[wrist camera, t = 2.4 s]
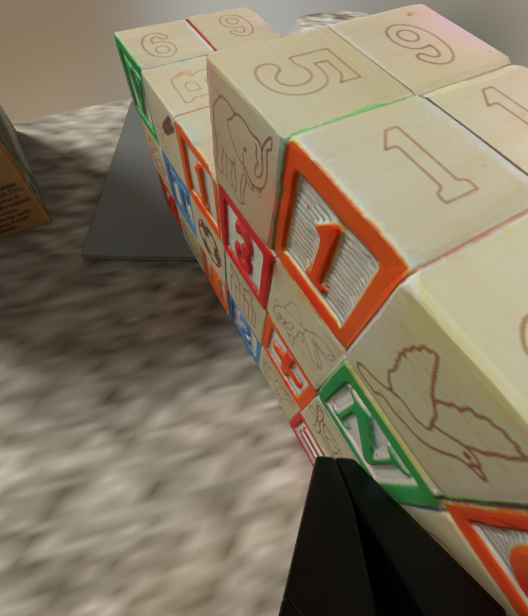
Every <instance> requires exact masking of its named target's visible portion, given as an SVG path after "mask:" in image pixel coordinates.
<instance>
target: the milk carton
mask: <svg viewBox="0 0 528 616" xmlns="http://www.w3.org/2000/svg"><path fill="white" fill-rule="evenodd" d="M50 221H51V219H50V216H49V214H48V211H47V208H46V206H45V203H44V201H43V198H42V196H41V193H40V190H39V188H38V185H37V183H36V180H35V178H34V175H33V172H32V170H31V167H30V165H29V162H28V160H27V157H26V154H25V152H24V149H23V147H22V144H21V141H20V139H19V136H18V134H17V131H16V129H15V128H14V126H13V125H12V123H11V122H10V120H9V118H8V117H7V115H6V114H5V112H4V110H3V109H2V107H1V106H0V238H1V237H4V236H8V235H11V234H14V233H17V232H20V231H23V230H26V229H29V228H32V227H35V226H38V225H41V224H44V223H47V222H50Z"/></svg>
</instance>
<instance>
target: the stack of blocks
mask: <svg viewBox="0 0 528 616" xmlns="http://www.w3.org/2000/svg"><path fill="white" fill-rule="evenodd" d="M114 37H115V41H116V45H117V48H118V52H119V55H120V59H121V62H122V65H123V69H124V72H125V75H126V79H127V83H128V86H129V89H130V92H131V96H132V99H133V102H134V105H135V108H136V110H137V112H138V114H139V115H140V117H141V121H142V124H143V128H144V131H145V135H146V139H147V142H148V146H149V149H150V152H151V156H152V159H153V162H154V165H155V167H156V169H157V173H158V176H159V180H160V184H161V188H162V191H163V194H164V197H165V200H166V204H167V206H168V208H169V210H170V211H171V213H172V215H173V216H174V218H175V220H176V221H177V223H178V225H179V226H180V228H181V230H182V231H183V233H184V237H185V240H186V241H187V243H188V245H189V247H190V249H191V250H192V252H193V254H194V256H195V257H196V259H197V261H198V263H199V264H200V266H201V268H202V270H203V271H204V273H205V274H206V277H207V279H208V281H209V283H210V284H211V286H212V288H213V290H214V291H215V293H216V295H217V297H218V298H219V300H220V302H221V304H222V306H223V307H224V309H225V311H226V313H227V314H228V316H230V317H231V318H232V320H233V322H234V324H235V326H236V328H237V329H238V331H239V333H240V335H241V336H242V338H243V340H244V342H245V343H246V345H247V347H248V349H249V351H250V352H251V354H252V356H253V358H254V360H255V361H256V363H257V364H258V365H259V367H260V369H261V371H262V373H263V374H264V376H265V378H266V380H267V382H268V383H269V385H270V387H271V389H272V390H273V392H274V394H275V396H276V397H277V399H278V401H279V403H280V404H281V406H282V408H283V410H284V411H285V413H286V415H287V417H288V418H289V420H290V425H291V427H292V429H293V431H294V433H295V434H296V436H297V438H298V440H299V442H300V444H301V445H302V447H303V449H304V451H305V452H306V454H307V456H308V458H309V460H310V461H311V463H312V465H313V467H314V463H315V459H316V457H317V456H327V457H333V458H334V459H336V458H337V457H340V458H352V459H354V460H355V461H357V462H358V463H359V464H360V465H361V466H362V467H363V468H364V469H365V470H366V471H367V472H368V473H369V474H370V475H371V476H372V477H373V478H374V479H375V480H376V481H377V482H378V483H379V484H380V485H381V486H382V487H383V488H384V489H385V490H386V491H387V492H388V493H389V494H390V495H391V496H392V497H393V498H394V499H395V500H396V501H397V502H398V503H399V504H400V505H401V506H402V507H403V508H404V509H405V510H406V511H407V512H408V513H409V514H410V515H411V516H412V517H413V518H414V519H415V520H416V521H417V522H418V523H419V524H420V525H421V526H422V527H423V528H424V529H425V530H426V531H427V532H428V533H429V534H430V535H431V536H432V537H433V538H434V539H435V540H436V541H437V542H438V543H439V544H440V545H441V546H442V547H443V548H444V549H445V550H446V551H447V552H448V553H449V554H450V555H451V556H452V557H453V558H454V559H455V560H456V561H457V562H458V563H459V564H460V565H461V566H462V567H463V568H464V569H465V570H466V571H467V572H468V573H469V574H470V575H471V576H472V577H473V578H474V579H475V580H476V581H477V582H478V583H479V584H480V585H481V586H482V587H483V588H484V589H485V590H486V591H487V592H488V593H489V594H490V595H491V596H492V597H493V598H494V599H495V600H496V601H497V602H498V603H499V604H500V605H501V606H502V607H503V608H504V609H505V610H506V613H507V615H511V616H528V68H526V67H523V66H517V65H511V62H510V60H509V57H507V56H506V55H504V54H502V53H501V52H499V51H498V50H496V49H495V48H493V47H491V46H489V45H488V44H487V43H485V42H483V41H482V40H480V39H478V38H477V37H475V36H473V35H472V34H470V33H469V32H467V31H465V30H464V29H462V28H460V27H459V26H457V25H456V24H454V23H452V22H451V21H449V20H447V19H446V18H444V17H442V16H441V15H439V14H438V13H436V12H434V11H433V10H431V9H430V8H428V7H427V6H425V5H422V4H416V5H410V6H406V7H402V8H398V9H394V10H390V11H386V12H382V13H378V14H374V15H370V16H365V17H361V18H357V19H353V20H348V21H344V22H340V23H335V24H331V25H328V26H327V27H325V28H320V29H315V30H311V31H307V32H303V33H300V34H296V35H292V36H287V37H282V36H281V35H280V34H279V33H278V32H276V30H274V29H273V28H272V27H271V26H270V25H269V24H268V23H267V22H266V21H265V20H264V19H263V18H261V17H260V16H259V15H257V14H256V13H255V12H254V11H253V10H252V9H251V8H250V7H244V8H237V9H232V10H227V11H221V12H215V13H209V14H203V15H197V16H192V17H188V18H187V19H186V20H179V21H174V22H168V23H163V24H157V25H152V26H147V27H141V28H135V29H131V30H125V31H120V32H115V33H114Z"/></svg>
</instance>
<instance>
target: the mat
mask: <svg viewBox="0 0 528 616" xmlns="http://www.w3.org/2000/svg"><path fill="white" fill-rule="evenodd" d="M82 256H83V257H84V259H102V260H177V261H197V259H196V257H195V256H194V254H193V252H192V250H191V249H190V247H189V245H188V243H187V241H186V240H185V237H184V233H183V231H182V230H181V228H180V226H179V225H178V223H177V221H176V220H175V218H174V216H173V215H172V213H171V211H170V210H169V208H168V206H167V204H166V200H165V197H164V194H163V191H162V188H161V184H160V180H159V176H158V173H157V169H156V167H155V165H154V162H153V159H152V156H151V152H150V149H149V146H148V142H147V139H146V135H145V131H144V128H143V124H142V121H141V117H140V115H139V114H138V112H137V110H136V108H135V105H134V102H133V101H131V104H130V107H129V110H128V113H127V116H126V119H125V122H124V126H123V129H122V132H121V135H120V138H119V141H118V144H117V147H116V150H115V153H114V157H113V160H112V163H111V166H110V169H109V172H108V175H107V178H106V181H105V185H104V188H103V191H102V194H101V197H100V200H99V203H98V206H97V209H96V212H95V216H94V219H93V222H92V225H91V228H90V231H89V234H88V237H87V240H86V244H85V247H84V250H83V253H82Z"/></svg>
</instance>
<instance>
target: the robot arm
mask: <svg viewBox="0 0 528 616" xmlns="http://www.w3.org/2000/svg"><path fill="white" fill-rule="evenodd" d="M278 616H511V615H507V613H506V610H505V609H504V608H503V607H502V606H501V605H500V604H499V603H498V602H497V601H496V600H495V599H494V598H493V597H492V596H491V595H490V594H489V593H488V592H487V591H486V590H485V589H484V588H483V587H482V586H481V585H480V584H479V583H478V582H477V581H476V580H475V579H474V578H473V577H472V576H471V575H470V574H469V573H468V572H467V571H466V570H465V569H464V568H463V567H462V566H461V565H460V564H459V563H458V562H457V561H456V560H455V559H454V558H453V557H452V556H451V555H450V554H449V553H448V552H447V551H446V550H445V549H444V548H443V547H442V546H441V545H440V544H439V543H438V542H437V541H436V540H435V539H434V538H433V537H432V536H431V535H430V534H429V533H428V532H427V531H426V530H425V529H424V528H423V527H422V526H421V525H420V524H419V523H418V522H417V521H416V520H415V519H414V518H413V517H412V516H411V515H410V514H409V513H408V512H407V511H406V510H405V509H404V508H403V507H402V506H401V505H400V504H399V503H398V502H397V501H396V500H395V499H394V498H393V497H392V496H391V495H390V494H389V493H388V492H387V491H386V490H385V489H384V488H383V487H382V486H381V485H380V484H379V483H378V482H377V481H376V480H375V479H374V478H373V477H372V476H371V475H370V474H369V473H368V472H367V471H366V470H365V469H364V468H363V467H362V466H361V465H360V464H359V463H358V462H357V461H355V460H354V459H352V458H340V457H337V458H336V459H334V458H333V457H327V456H317V457H316V459H315V463H314V467H313V472H312V476H311V480H310V484H309V489H308V493H307V497H306V501H305V506H304V510H303V514H302V518H301V523H300V527H299V531H298V536H297V540H296V544H295V548H294V553H293V557H292V561H291V565H290V570H289V574H288V578H287V582H286V587H285V591H284V595H283V601H282V603H281V607H280V611H279V615H278Z"/></svg>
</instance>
